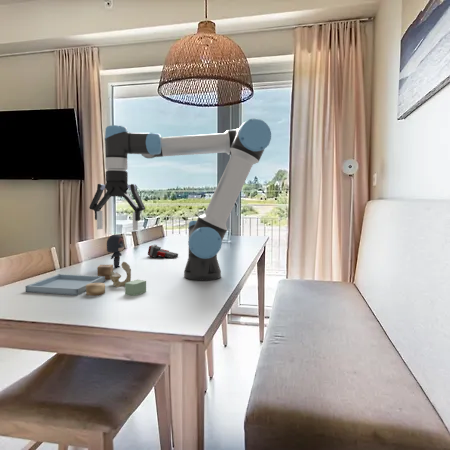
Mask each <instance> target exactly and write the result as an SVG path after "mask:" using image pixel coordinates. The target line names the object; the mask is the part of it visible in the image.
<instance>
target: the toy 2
mask: <svg viewBox="0 0 450 450" xmlns="http://www.w3.org/2000/svg"><path fill="white" fill-rule="evenodd" d="M147 255H148V256H149V257H150V258H151V257H152V258H158V257H163V258H165V257H166V258H170V259H177V258H178V257H179V253H177V252H172V251H170V250H167V249H163V248H162V247H161V246H158V244H153V245H149V247H148V251H147Z"/></svg>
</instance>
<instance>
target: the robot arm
mask: <svg viewBox="0 0 450 450" xmlns="http://www.w3.org/2000/svg"><path fill="white" fill-rule="evenodd" d="M104 136H105V137H104V144H105V145H104V147H105V150H104V151H105V152H104V153H105V169H106V171H105V181H106V182H105V184H103V183H98V184H97V187H96V192H95V194H94V196H93V198H92V200H91V203H90V205H89V210H93V211H94V220H95V221H96V230H103V229H104V228H103V222H104V220H103V210H101V209H102V208H103V207H104V206H105V204H107V202H108V201H109V200H110V199H111V197H117V198H118V197H122V198H123V199H124V200H125V201H126V202H127V203H128V204H129V206H130V207H131V208H132V209H133V211H132V231H138V230H139V223H138V222H140V220H141V211H145V210H146V206H145V204H144V202H143V200H142V199H141V196H140V194H139V191H138V189H137V184H135V183H131V184H128V179H129V178H128V171H127V170H128V155H141V156H142V157H144V158H146V159H155V158H160V157H161V158H162V157H175V156H189V155H190V156H191V155H192V156H193V155H207V154H220V153H222V154H223V153H225V154H227V156H229V155H230V157H229V160H228V162H227V164H226V166H225V169H224V170H223V173H222V176H221V177H220V179H219V182H218V184H217V186H216V188H215V190H214V192H213V195H212V197H211V199H210V201H209V204H208V206H207V207H206V210H205V212H204V213H203V214H201V215H199V216H198V218H197V219H196V220H190V221H189V222H188V243H187V244H188V258H187V261H186V264H185V268H184V271H183V276H184V278H185V279H188V280H192V281H213V280H218V279H220V278H221V277H222V271H221V267H220V264H219V261H218V256H217V255H218V253H219V252H220V251H221V248H222V245H223V244H222V243H223V240H224V237H225V236H226V233H227V231H228V228H227V222H228V220H229V217H230V215H231V212H232V210H233V209H234V207H235V204H236V202H237V199H238V198H239V196H240V193H241V191H242V189H243V187H244V185H245V183H246V181H247V178H248V176H249V173H250V172H251V170H252V167H253V165H257V164H258V163H259V162H260V160H261V158H262V155H263V154H264V152H265V149H266V148H267V147H268V146H269V145H270V143H271V140H272V131H271V128H270V126H269V125H268V123H267V122H265V121H264V120H262V119H260V118H257V117H256V118H249V119H247V120H244V122H243V123H242V124H241V125H240V126H239V128H238V127H237V128H236V129H227V130H226V131H225V132H223V133H221V132H220V133H208V134H192V135H177V136H176V135H175V136H174V135H173V136H161V134H160V133H154V132H129V131H128V128H127V127H126V126H123V125H115V124H111V125H107V126H106V127H105V135H104ZM104 190H106V192H105V194H104V195H103V192H104ZM128 190H129V191H130V192H131V194H132V196H130V193H128ZM102 195H103V197H102ZM101 197H102V198H101ZM132 197H133V198H134V199H133V198H132Z"/></svg>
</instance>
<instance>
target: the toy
mask: <svg viewBox="0 0 450 450" xmlns="http://www.w3.org/2000/svg"><path fill="white" fill-rule="evenodd" d="M124 249H125V244H124V237H123V236H122V235H119V234H111V235H110V236H109V237H108V238H107V240H106V251H107V252H108V253H112V255H111V256H110V260H112V259H113V269H118V268H120V267H121V265H120V261H121V260H120V258H121V256H123V255H122V253H121V252H123V251H124Z"/></svg>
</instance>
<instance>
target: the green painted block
mask: <svg viewBox="0 0 450 450" xmlns="http://www.w3.org/2000/svg"><path fill="white" fill-rule="evenodd" d="M146 292H147V280H143V279H139V278H138V279H134V280H131V281H130V282H127V283H125V286H124V294H125V295H127V296H133V297H136V296H138V295H141V294H144V293H146Z"/></svg>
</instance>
